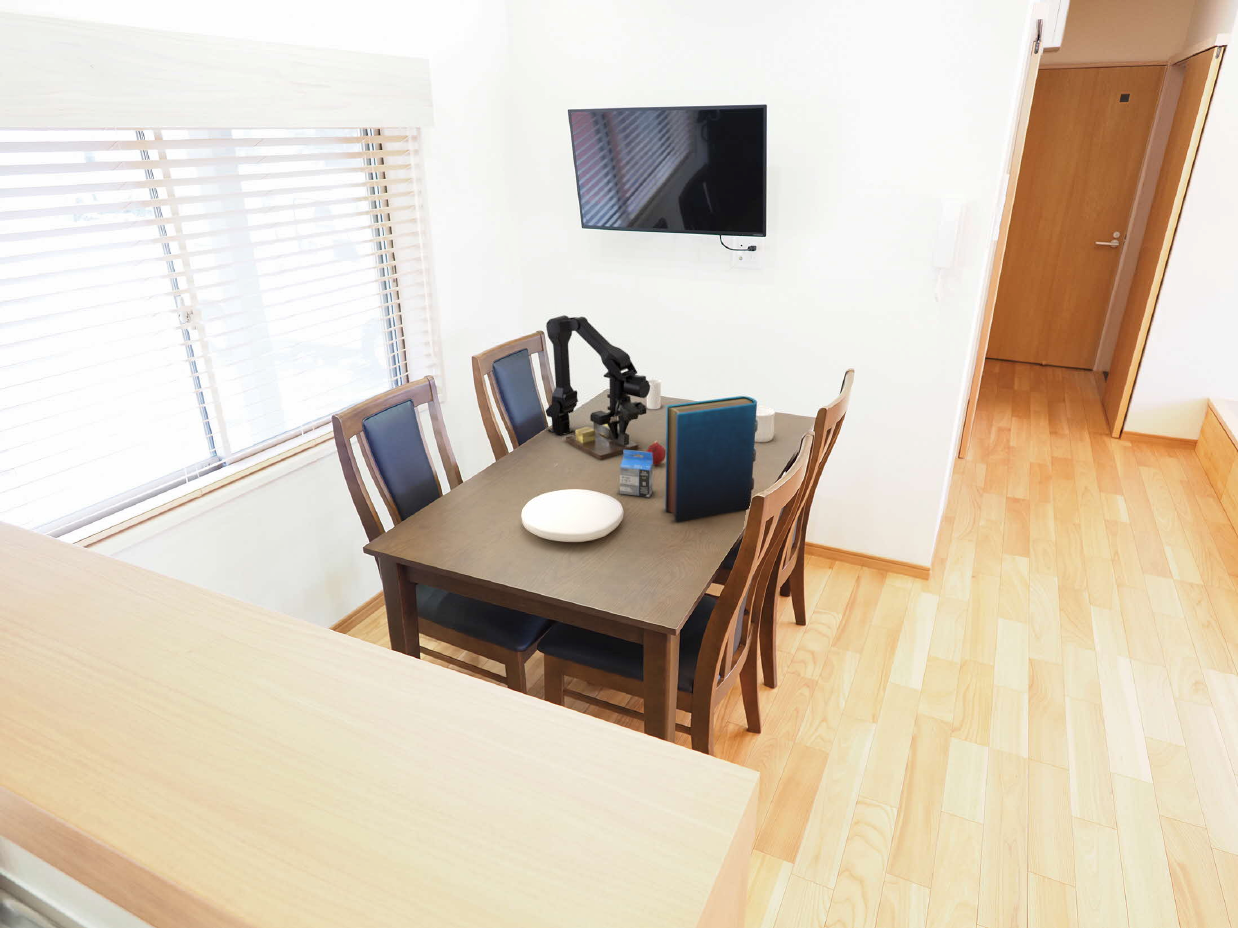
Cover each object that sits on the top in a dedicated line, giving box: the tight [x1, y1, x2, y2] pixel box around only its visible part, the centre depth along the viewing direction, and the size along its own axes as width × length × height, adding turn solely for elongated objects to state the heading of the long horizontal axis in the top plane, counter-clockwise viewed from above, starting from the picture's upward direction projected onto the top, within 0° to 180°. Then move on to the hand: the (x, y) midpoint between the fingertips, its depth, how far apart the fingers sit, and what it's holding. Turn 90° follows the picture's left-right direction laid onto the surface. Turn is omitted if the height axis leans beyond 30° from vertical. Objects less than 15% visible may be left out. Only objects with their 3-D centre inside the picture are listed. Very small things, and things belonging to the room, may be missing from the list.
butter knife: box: [593, 422, 630, 446], centre depth 258 cm, size 18×2×4 cm, turn 37°
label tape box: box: [619, 450, 654, 498], centre depth 222 cm, size 9×4×12 cm, turn 73°
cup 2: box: [755, 405, 776, 443], centre depth 261 cm, size 10×10×10 cm
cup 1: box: [646, 378, 662, 410], centre depth 291 cm, size 5×5×10 cm
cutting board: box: [564, 426, 639, 461], centre depth 257 cm, size 20×15×5 cm
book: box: [664, 395, 758, 523], centre depth 209 cm, size 24×9×30 cm, turn 110°
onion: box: [646, 440, 666, 466], centre depth 241 cm, size 6×6×8 cm
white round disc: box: [520, 488, 625, 543], centre depth 205 cm, size 28×6×27 cm
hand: (619, 438), depth 255 cm, fingers closed on butter knife, 2 cm apart
